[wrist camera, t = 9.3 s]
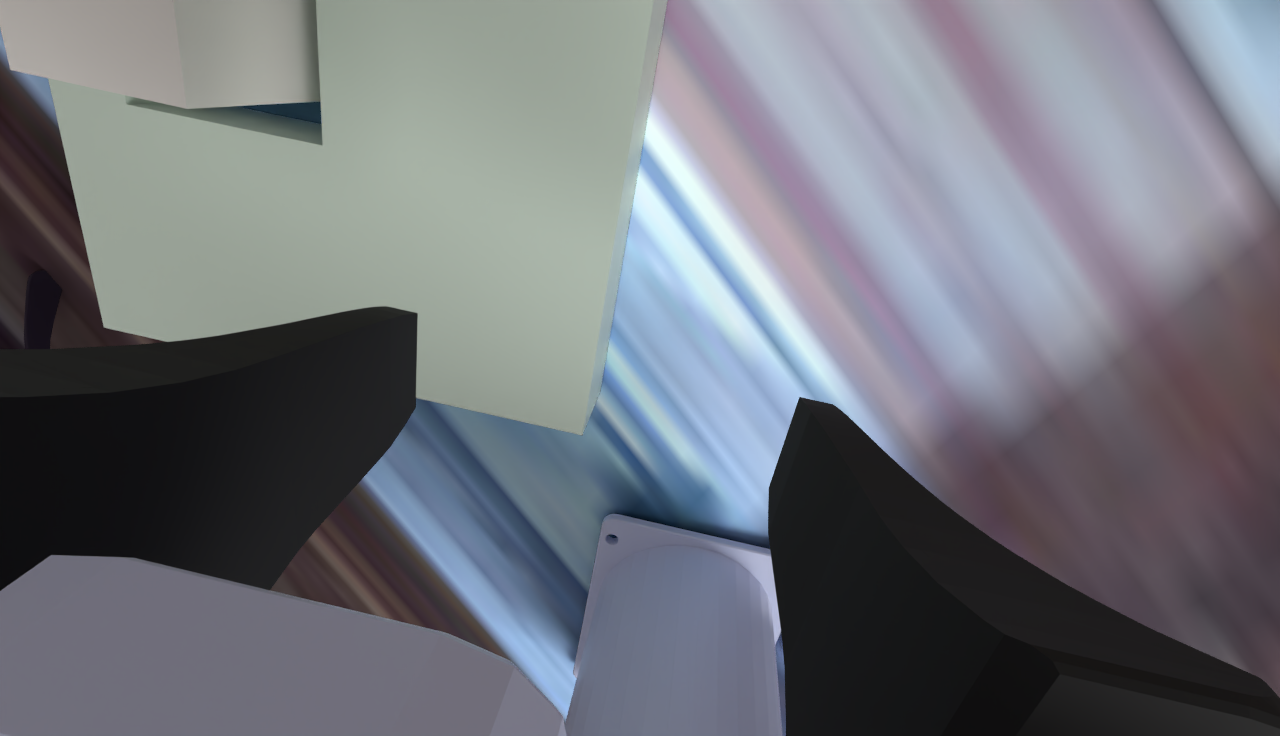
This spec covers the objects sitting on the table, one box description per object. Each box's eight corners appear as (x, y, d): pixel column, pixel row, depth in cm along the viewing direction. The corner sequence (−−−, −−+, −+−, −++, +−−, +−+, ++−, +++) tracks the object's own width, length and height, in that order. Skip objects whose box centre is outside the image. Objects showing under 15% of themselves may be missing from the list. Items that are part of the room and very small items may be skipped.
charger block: (353, 99, 19) (186, 108, 13) (229, 72, 19) (9, 69, 13) (350, -54, 17) (157, -122, 11) (214, -83, 17) (-46, -164, 12)
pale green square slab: (600, 391, 22) (582, 435, 19) (177, 297, 23) (103, 327, 20) (697, -172, 15) (690, -227, 12) (82, -287, 16) (-51, -362, 13)
